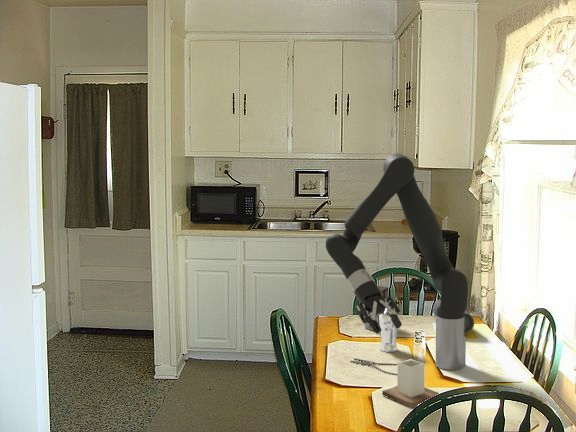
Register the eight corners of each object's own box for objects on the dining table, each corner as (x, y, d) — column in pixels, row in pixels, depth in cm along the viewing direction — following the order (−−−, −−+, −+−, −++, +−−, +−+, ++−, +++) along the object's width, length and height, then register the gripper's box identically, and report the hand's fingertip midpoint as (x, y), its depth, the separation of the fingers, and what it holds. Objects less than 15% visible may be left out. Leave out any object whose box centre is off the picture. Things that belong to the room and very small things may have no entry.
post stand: (410, 386, 216) (410, 357, 215) (439, 398, 206) (440, 367, 205) (382, 395, 209) (382, 365, 208) (411, 408, 199) (411, 376, 198)
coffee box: (375, 323, 285) (375, 284, 283) (389, 325, 281) (389, 286, 279) (364, 328, 278) (364, 289, 276) (378, 331, 274) (378, 291, 272)
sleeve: (410, 387, 211) (410, 358, 210) (424, 392, 207) (424, 363, 206) (397, 391, 208) (397, 362, 207) (411, 397, 203) (411, 367, 202)
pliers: (402, 374, 225) (344, 366, 233) (402, 377, 225) (344, 369, 233) (409, 365, 234) (353, 357, 242) (409, 367, 234) (353, 360, 242)
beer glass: (401, 349, 252) (402, 308, 250) (390, 353, 247) (391, 312, 245) (386, 345, 257) (386, 305, 255) (374, 349, 252) (375, 309, 250)
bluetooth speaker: (475, 336, 266) (476, 311, 264) (452, 338, 264) (452, 312, 263) (452, 320, 288) (453, 296, 287) (431, 321, 286) (431, 298, 285)
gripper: (352, 283, 214) (378, 327, 206) (386, 276, 222) (412, 319, 214) (341, 296, 218) (366, 340, 211) (374, 289, 227) (399, 331, 219)
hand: (389, 329), depth 213 cm, fingers open, 8 cm apart
